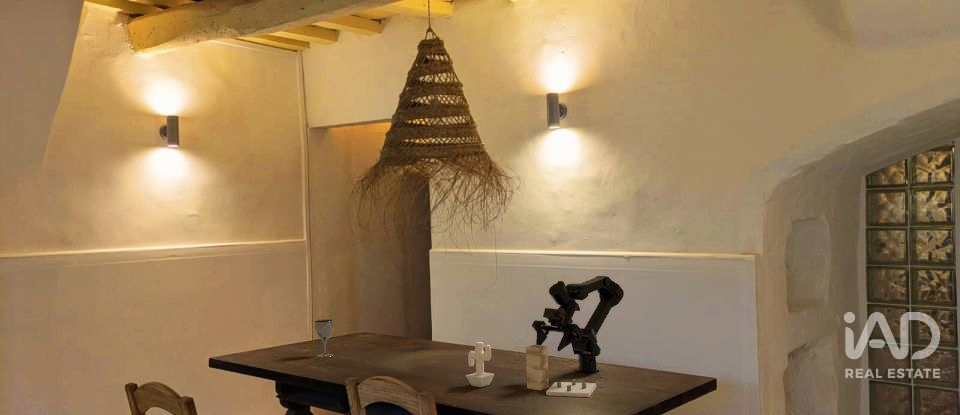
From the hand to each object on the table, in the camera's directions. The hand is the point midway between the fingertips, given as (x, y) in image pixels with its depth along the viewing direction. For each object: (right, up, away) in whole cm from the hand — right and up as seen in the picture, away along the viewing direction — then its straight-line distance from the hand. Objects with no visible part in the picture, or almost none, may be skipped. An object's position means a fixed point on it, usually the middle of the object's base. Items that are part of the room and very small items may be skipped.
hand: (547, 349), depth 277 cm
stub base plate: (+7, -12, -11) cm, 18 cm away
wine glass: (-89, -15, +67) cm, 112 cm away
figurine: (-23, -13, +2) cm, 27 cm away
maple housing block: (-4, -12, -4) cm, 14 cm away
